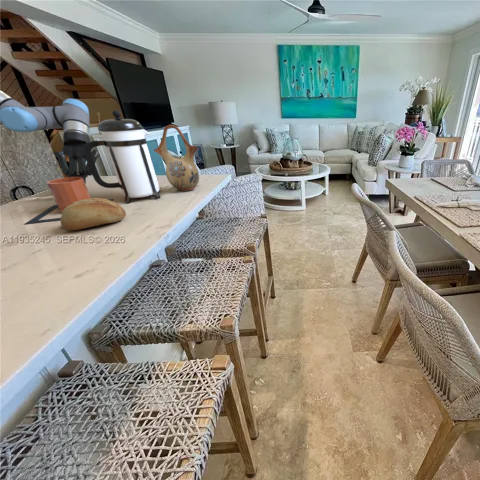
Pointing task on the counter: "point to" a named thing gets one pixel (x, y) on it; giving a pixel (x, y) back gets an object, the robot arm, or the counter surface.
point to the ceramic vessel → (179, 164)
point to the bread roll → (91, 213)
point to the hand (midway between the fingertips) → (78, 192)
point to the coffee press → (126, 158)
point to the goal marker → (36, 219)
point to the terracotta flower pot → (68, 191)
